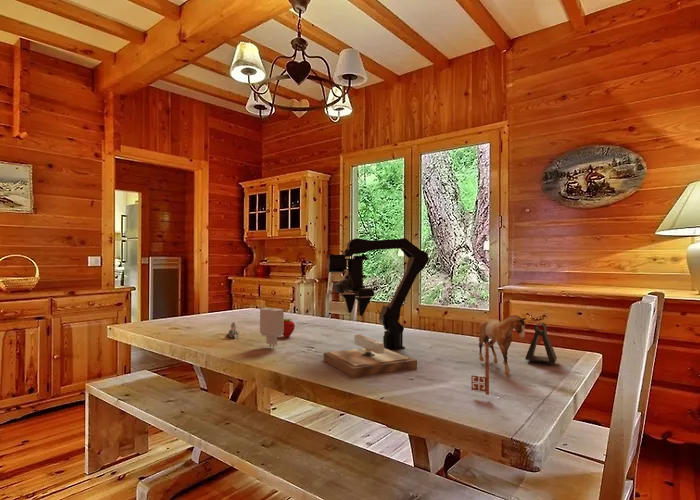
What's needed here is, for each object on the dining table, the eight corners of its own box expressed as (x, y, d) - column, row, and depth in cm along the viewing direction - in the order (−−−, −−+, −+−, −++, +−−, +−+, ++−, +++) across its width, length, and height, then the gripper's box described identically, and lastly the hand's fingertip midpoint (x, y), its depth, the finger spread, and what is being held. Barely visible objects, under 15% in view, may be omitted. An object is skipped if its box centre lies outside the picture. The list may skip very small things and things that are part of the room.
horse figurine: (528, 378, 116) (528, 316, 116) (506, 379, 115) (505, 317, 116) (489, 356, 142) (489, 306, 142) (471, 356, 141) (470, 306, 142)
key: (471, 392, 104) (470, 332, 104) (471, 391, 105) (471, 332, 105) (495, 396, 101) (495, 334, 102) (495, 394, 102) (495, 334, 102)
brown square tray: (380, 353, 147) (380, 344, 147) (417, 368, 127) (416, 358, 127) (323, 360, 137) (323, 350, 137) (353, 377, 117) (353, 366, 117)
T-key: (354, 348, 139) (354, 335, 139) (359, 348, 140) (359, 334, 140) (378, 359, 124) (378, 344, 124) (383, 358, 125) (383, 343, 125)
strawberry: (288, 340, 169) (288, 316, 170) (275, 338, 173) (275, 315, 173) (298, 338, 174) (298, 314, 175) (284, 336, 178) (284, 313, 178)
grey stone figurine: (254, 340, 173) (254, 321, 173) (236, 343, 166) (236, 324, 166) (241, 337, 179) (241, 319, 179) (223, 340, 172) (223, 322, 172)
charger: (275, 352, 149) (275, 310, 149) (258, 348, 155) (258, 308, 155) (285, 349, 153) (284, 309, 153) (268, 346, 158) (268, 307, 159)
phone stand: (557, 359, 138) (556, 323, 138) (555, 363, 132) (554, 325, 133) (527, 355, 142) (527, 321, 143) (525, 359, 137) (524, 323, 137)
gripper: (325, 271, 159) (325, 312, 158) (346, 273, 142) (346, 319, 142) (351, 271, 164) (351, 310, 163) (374, 272, 147) (375, 316, 147)
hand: (355, 314), depth 154 cm, fingers open, 9 cm apart
